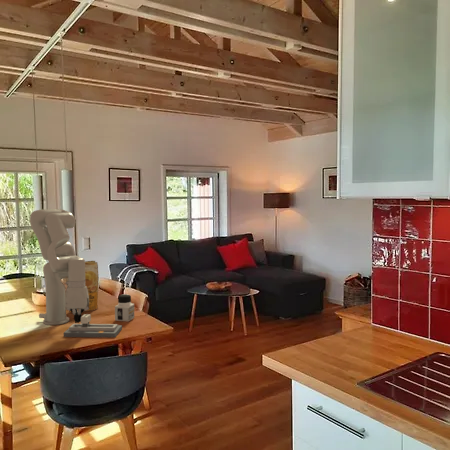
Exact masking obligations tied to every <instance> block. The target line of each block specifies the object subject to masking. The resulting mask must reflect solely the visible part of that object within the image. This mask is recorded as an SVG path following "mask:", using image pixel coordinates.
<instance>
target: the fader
mask: <svg viewBox="0 0 450 450" xmlns="http://www.w3.org/2000/svg"><path fill="white" fill-rule="evenodd" d="M91 315H92V314H88V313H86V314H85V313H84V314H83V315H81V316H82V317H81V321H80V324H82V327H89V324H90V322H91V321H92V316H91Z"/></svg>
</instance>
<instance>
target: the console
mask: <svg viewBox="0 0 450 450" xmlns="http://www.w3.org/2000/svg"><path fill="white" fill-rule="evenodd" d="M122 330H123V325H121V324H117V323H115V324H114V323H89V327H82V324H81V323H72V324H71V325H70V326H69V327H68V329H66V330H65V331H63V338H116V337H117V336H118V335H119V334H120V332H121V331H122Z"/></svg>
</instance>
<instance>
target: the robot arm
mask: <svg viewBox="0 0 450 450" xmlns="http://www.w3.org/2000/svg"><path fill="white" fill-rule="evenodd" d="M29 221H30V226H31V229H32V231H33V233H34V235H35V236H36V239H37V241H38V246H39V249H40V253H41V256H42V258H43V260H45V261H48V262H47V263H45V264H44V265H43V269H42V272H43V276H44V283H45V309H46V310H45V313H39V314H38V318H39V319H43V321H42V322H43V325H47V326H58V325H63V324H66V323H69V322H70V317H69V316H67V311H68V312H69V311H71V312H72V315H73V321H74V324H80V323H81V317H82V316H83V315H82V314H83V313H84V312H83V311H85V312H87V311H86V310H88V309H89V295H88V289H87V286H85V261H86V260H85V258H83V257H80V256H78V255H76V252H75V249H74V246H73V244H72V243H71V242H69V241H70V234H69V231H68V229H74V227H75V225H76V218H75V216H74V215H73V213H72V212H70V211H68V210H65V209H62V208H57V209H56V208H55V209H50V208H49V209H46V208H45V209H36V210H33V211H32V212H31V213H30V216H29ZM66 278H68V280H69V281H68V282H67V281H65V283H64V282H62V280H63V279H66ZM67 285H68V286H69V287H66V286H67ZM77 309H78V311H77Z"/></svg>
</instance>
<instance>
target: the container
mask: <svg viewBox="0 0 450 450" xmlns="http://www.w3.org/2000/svg"><path fill="white" fill-rule="evenodd" d="M117 303H118V304H117V305H115V306H114V321H115V322H116V321H118V322H130V321H131V320H133V319H134V318H135V303H132V296H131V294H126V293H125V294H119V295H118V296H117Z"/></svg>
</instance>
